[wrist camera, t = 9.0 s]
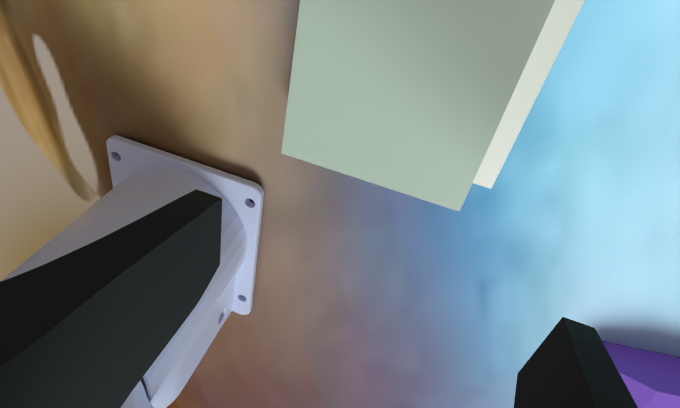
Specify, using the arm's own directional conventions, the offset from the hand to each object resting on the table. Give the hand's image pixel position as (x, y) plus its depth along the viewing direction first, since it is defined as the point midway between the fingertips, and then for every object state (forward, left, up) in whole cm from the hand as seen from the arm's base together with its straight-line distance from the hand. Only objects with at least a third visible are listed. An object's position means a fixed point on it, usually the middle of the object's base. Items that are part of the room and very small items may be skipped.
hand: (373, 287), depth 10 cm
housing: (+3, +1, -8) cm, 9 cm away
